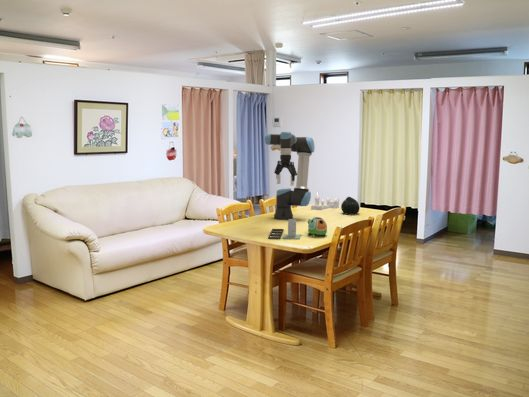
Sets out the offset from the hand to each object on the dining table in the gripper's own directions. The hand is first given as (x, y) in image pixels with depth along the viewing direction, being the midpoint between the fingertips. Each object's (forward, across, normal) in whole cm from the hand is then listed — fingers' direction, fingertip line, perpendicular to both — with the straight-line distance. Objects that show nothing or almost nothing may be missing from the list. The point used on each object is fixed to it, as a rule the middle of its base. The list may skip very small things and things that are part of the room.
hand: (285, 184), depth 344 cm
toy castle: (+32, -37, +87) cm, 100 cm away
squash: (+32, -7, +83) cm, 89 cm away
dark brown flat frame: (+32, +9, -17) cm, 37 cm away
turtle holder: (+32, +27, +3) cm, 42 cm away
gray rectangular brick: (+31, +21, -14) cm, 40 cm away
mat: (+32, +21, -14) cm, 41 cm away
